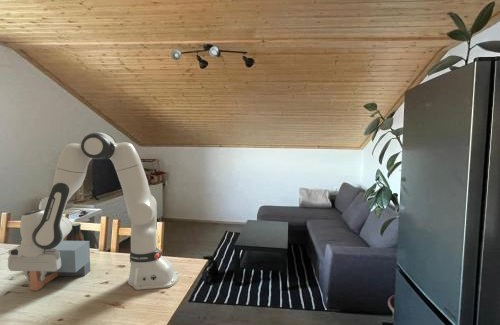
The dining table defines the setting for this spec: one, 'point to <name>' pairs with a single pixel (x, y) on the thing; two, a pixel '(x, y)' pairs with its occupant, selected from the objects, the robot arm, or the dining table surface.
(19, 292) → the dining table surface
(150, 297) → the dining table surface
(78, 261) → the grey block
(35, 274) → the square headed mallet
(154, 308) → the dining table surface
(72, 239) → the sauce bottle
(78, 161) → the robot arm
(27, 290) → the dining table surface
